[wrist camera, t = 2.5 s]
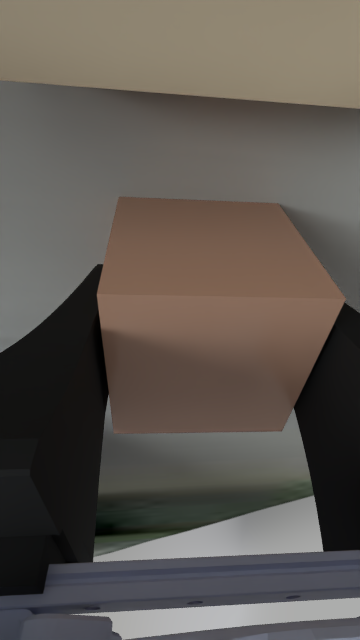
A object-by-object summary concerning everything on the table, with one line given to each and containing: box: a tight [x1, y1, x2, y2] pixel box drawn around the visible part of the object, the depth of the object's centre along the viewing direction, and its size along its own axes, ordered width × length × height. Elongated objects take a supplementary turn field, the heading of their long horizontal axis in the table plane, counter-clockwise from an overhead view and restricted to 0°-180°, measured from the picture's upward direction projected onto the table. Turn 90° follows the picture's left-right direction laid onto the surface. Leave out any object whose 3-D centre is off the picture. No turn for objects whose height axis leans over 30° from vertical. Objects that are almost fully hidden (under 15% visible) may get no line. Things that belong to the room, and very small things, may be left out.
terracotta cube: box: [97, 197, 346, 434], centre depth 10 cm, size 5×5×5 cm
